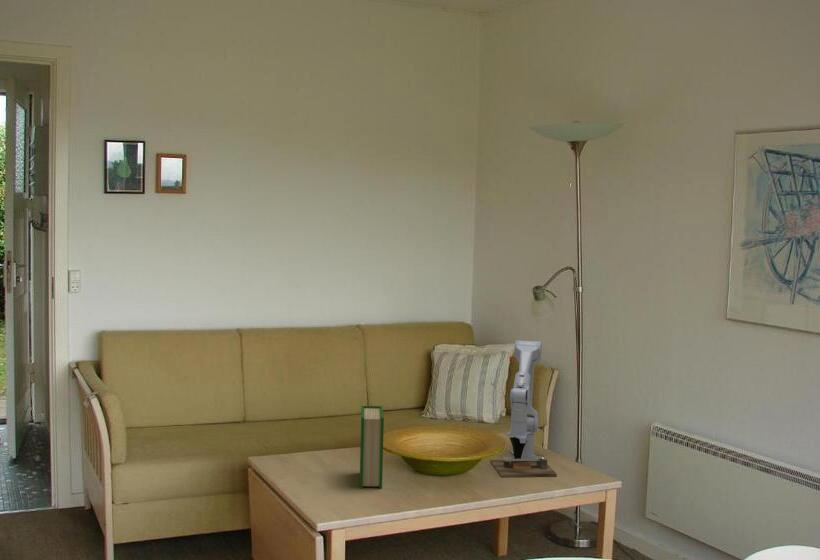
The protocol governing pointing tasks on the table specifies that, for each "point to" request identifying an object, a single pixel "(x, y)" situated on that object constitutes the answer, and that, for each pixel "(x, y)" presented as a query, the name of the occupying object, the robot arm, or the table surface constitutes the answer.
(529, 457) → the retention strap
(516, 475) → the strap board
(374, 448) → the hardback book
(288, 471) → the table surface
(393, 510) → the table surface
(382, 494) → the table surface
